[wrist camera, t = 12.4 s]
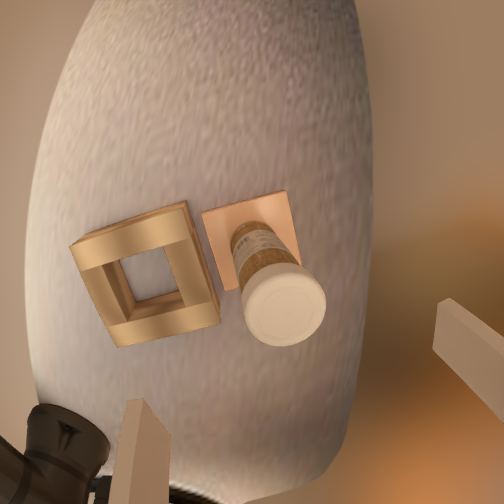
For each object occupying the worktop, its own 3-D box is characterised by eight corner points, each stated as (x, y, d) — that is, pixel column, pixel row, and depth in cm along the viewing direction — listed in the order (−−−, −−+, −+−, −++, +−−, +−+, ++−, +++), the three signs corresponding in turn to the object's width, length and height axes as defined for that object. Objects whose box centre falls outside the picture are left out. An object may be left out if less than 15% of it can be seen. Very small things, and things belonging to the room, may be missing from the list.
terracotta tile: (224, 287, 30) (225, 291, 29) (201, 212, 27) (200, 214, 27) (300, 266, 30) (302, 269, 30) (284, 190, 28) (285, 191, 27)
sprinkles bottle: (252, 275, 29) (282, 362, 16) (219, 243, 28) (226, 317, 15) (287, 243, 29) (343, 310, 16) (255, 209, 27) (293, 256, 14)
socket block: (125, 326, 30) (117, 347, 26) (85, 234, 26) (69, 246, 23) (219, 302, 31) (220, 323, 27) (186, 200, 27) (182, 208, 23)
